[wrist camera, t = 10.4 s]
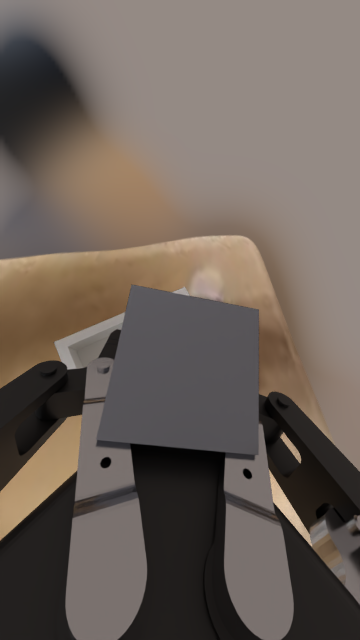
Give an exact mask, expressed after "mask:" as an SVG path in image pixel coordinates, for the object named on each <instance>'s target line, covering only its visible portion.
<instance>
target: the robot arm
mask: <svg viewBox="0 0 360 640" xmlns="http://www.w3.org/2000/svg"><path fill="white" fill-rule="evenodd" d="M120 333H121V330H119V329H116V330H115V331H113V332H112V333H111V334H110V336H109V338H108V340H107V342H106V343H105V345H104V347H103V349H102V351H101V353H100V355H99V357H98V358H97V359H95V360H93V361H91V362H90V363H89V364H88V366H87V367H85V368H79V369H68V370H67V366H66V365H65V364H64V363H62V362H60V361H46V362H42V363H39V364H37V365H35V366H34V367H32V368H31V369H29V370H28V371H26V372H25V373H23V374H22V375H20V376H19V377H17V378H16V379H14V380H13V381H11V382H10V383H8V384H7V385H5V386H4V387H2V388H1V389H0V491H1V490H2V489H3V488H4V487H5V486H6V485H7V484H8V482H9V481H10V480H11V479H12V478H13V477H14V476H15V475H16V474H17V473H18V471H19V470H20V469H21V468H22V467H23V466H24V465H25V464H26V463H27V461H28V460H29V459H30V458H31V457H32V456H33V455H34V454H35V453H36V452H37V450H38V449H39V448H40V447H41V446H42V445H43V444H44V443H45V442H46V441H47V439H48V438H49V437H50V436H51V435H52V434H53V433H54V432H55V431H56V430H57V428H58V427H59V426H60V425H61V424H62V423H63V422H64V421H65V420H66V418H67V417H71V416H76V415H82V424H81V436H80V447H79V459H78V470H77V471H76V472H75V473H74V474H73V475H72V476H71V477H70V478H69V479H67V480H66V481H65V482H64V483H63V484H62V485H61V486H60V487H59V488H58V489H56V490H55V491H54V492H53V493H52V494H51V495H50V496H49V497H48V498H47V499H46V500H44V501H43V502H42V503H41V504H40V505H39V506H38V507H37V508H36V509H35V510H33V511H32V512H31V513H30V514H29V515H28V516H27V517H26V518H25V519H24V520H23V521H21V522H20V523H19V524H18V525H17V526H16V527H15V528H14V529H13V530H12V531H10V532H9V533H8V534H7V535H6V536H5V537H4V538H3V539H2V540H1V541H0V640H360V472H359V471H358V470H357V468H356V467H354V465H353V464H352V463H351V462H350V461H349V460H348V459H347V458H346V457H345V456H344V455H343V454H342V453H341V452H340V451H339V449H338V448H337V447H336V446H335V445H334V444H333V443H332V442H331V441H330V440H329V439H328V438H327V437H326V436H325V435H324V434H323V433H322V431H321V430H320V429H319V428H318V427H317V426H316V425H315V424H314V423H313V422H312V421H311V420H310V419H309V418H308V417H307V416H306V415H305V414H304V412H303V411H302V410H301V409H300V408H299V407H298V406H297V405H296V404H295V403H294V402H293V401H292V400H291V399H290V398H289V397H287V396H286V395H284V394H282V393H279V392H271V393H270V394H269V395H268V397H265V396H263V395H260V394H259V455H250V454H240V453H229V452H219V451H208V450H197V449H187V448H176V447H166V446H155V445H145V444H134V443H123V442H113V441H102V440H96V438H97V433H98V429H99V425H100V420H101V416H102V412H103V407H104V403H105V399H106V394H107V390H108V386H109V381H110V377H111V372H112V368H113V364H114V359H115V355H116V351H117V346H118V342H119V338H120ZM283 432H284V433H285V434H286V436H287V437H288V438H289V439H290V441H291V442H292V443H293V445H294V446H295V447H296V448H297V450H298V451H299V453H300V455H301V463H299V462H298V460H297V459H296V458H295V456H294V455H293V454H292V452H291V451H290V450H289V448H288V447H287V446H286V444H285V443H284V442H283V440H282V439H281V438H280V436H281V435H282V434H283ZM269 470H270V471H271V473H272V474H273V476H274V478H275V479H276V481H277V482H278V484H279V486H280V487H281V489H282V490H283V492H284V494H285V495H286V497H287V499H288V500H289V502H290V503H291V505H292V507H293V508H294V510H295V511H296V513H297V515H298V516H299V518H300V519H301V521H302V523H303V524H304V526H305V528H306V529H307V531H308V532H309V534H310V539H311V543H312V547H311V546H310V545H309V544H308V542H307V541H306V540H305V539H304V538H303V537H302V535H301V534H300V533H299V532H298V531H297V529H296V528H295V527H294V526H293V525H292V524H291V522H290V521H289V520H288V519H287V518H286V517H285V515H284V514H283V513H282V512H281V511H280V510H279V508H278V507H277V506H276V505H275V504H274V502H273V498H272V490H271V483H270V476H269Z"/></svg>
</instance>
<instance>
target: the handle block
mask: <svg viewBox="0 0 360 640" xmlns="http://www.w3.org/2000/svg"><path fill="white" fill-rule="evenodd" d="M96 440H102V441H113V442H123V443H134V444H145V445H155V446H166V447H176V448H187V449H197V450H208V451H219V452H229V453H240V454H250V455H259V310H258V309H253V308H248V307H243V306H238V305H233V304H228V303H223V302H218V301H213V300H208V299H202V298H197V297H192V296H187V295H182V294H177V293H172V292H167V291H162V290H157V289H152V288H147V287H142V286H137V285H132V286H131V290H130V294H129V299H128V303H127V307H126V312H125V316H124V320H123V325H122V329H121V333H120V338H119V342H118V346H117V351H116V355H115V359H114V364H113V368H112V372H111V377H110V381H109V386H108V390H107V394H106V399H105V403H104V407H103V412H102V416H101V420H100V425H99V429H98V433H97V438H96Z"/></svg>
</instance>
